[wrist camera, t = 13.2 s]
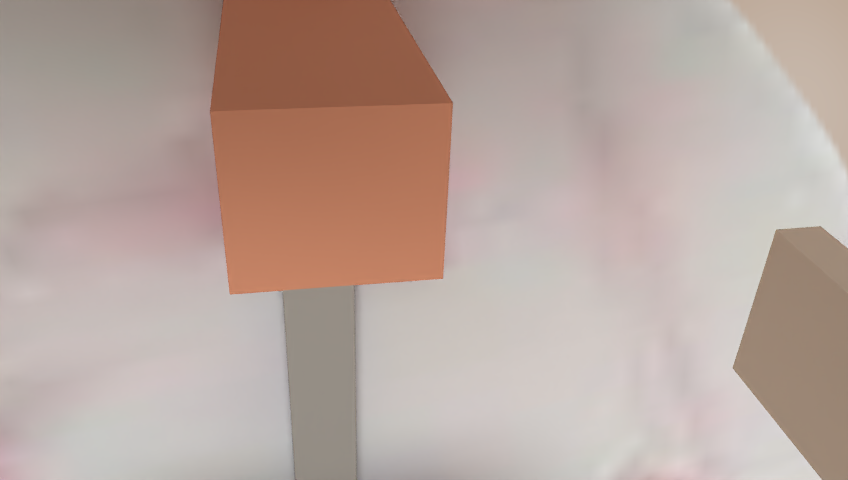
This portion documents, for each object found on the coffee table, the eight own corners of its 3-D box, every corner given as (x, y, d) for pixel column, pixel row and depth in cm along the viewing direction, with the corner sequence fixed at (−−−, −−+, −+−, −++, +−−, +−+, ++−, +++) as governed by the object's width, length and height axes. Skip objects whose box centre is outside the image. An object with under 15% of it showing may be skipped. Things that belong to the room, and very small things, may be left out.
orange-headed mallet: (225, -15, 23) (210, 111, 14) (380, -17, 23) (453, 103, 15) (272, 510, 34) (279, 757, 25) (376, 498, 35) (417, 732, 26)
